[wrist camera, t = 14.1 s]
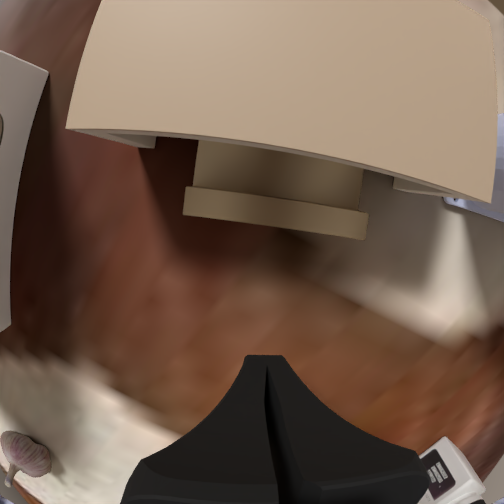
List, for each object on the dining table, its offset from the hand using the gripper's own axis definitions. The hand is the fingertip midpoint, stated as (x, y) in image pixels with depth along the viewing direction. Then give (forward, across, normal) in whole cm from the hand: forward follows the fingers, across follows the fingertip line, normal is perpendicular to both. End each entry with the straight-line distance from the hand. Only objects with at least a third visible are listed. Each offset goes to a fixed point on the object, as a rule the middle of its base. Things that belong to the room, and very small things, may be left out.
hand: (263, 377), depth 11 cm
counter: (+10, -2, -13) cm, 16 cm away
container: (+10, -21, +23) cm, 33 cm away
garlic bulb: (+10, +27, +23) cm, 37 cm away
